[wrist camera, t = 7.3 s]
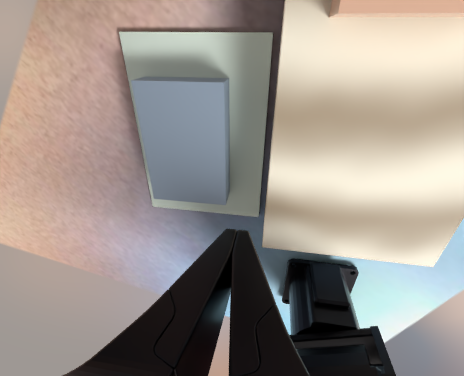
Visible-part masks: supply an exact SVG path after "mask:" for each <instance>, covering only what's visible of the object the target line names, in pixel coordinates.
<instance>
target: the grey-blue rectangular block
mask: <svg viewBox="0 0 464 376" xmlns="http://www.w3.org/2000/svg"><path fill="white" fill-rule="evenodd" d="M131 84H132V89H133V94H134V99H135V104H136V109H137V114H138V119H139V125H140V130H141V135H142V140H143V145H144V150H145V155H146V160H147V166H148V171H149V176H150V181H151V186H152V191H153V196H154V199H161V200H173V201H184V202H195V203H206V204H217V205H226V203H227V200H228V197H229V193H230V114H229V78H195V77H146V76H145V77H141V78H138V79H134V80H131Z"/></svg>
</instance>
